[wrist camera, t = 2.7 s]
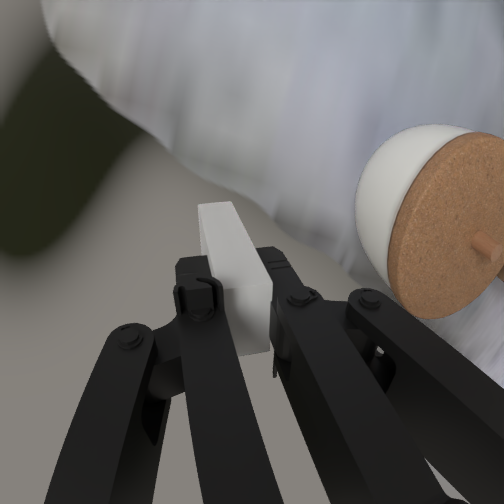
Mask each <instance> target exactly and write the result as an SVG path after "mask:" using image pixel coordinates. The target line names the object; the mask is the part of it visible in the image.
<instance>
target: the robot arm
mask: <svg viewBox="0 0 504 504" xmlns="http://www.w3.org/2000/svg"><path fill="white" fill-rule="evenodd" d="M198 214H199V227H200V240H201V251H202V256H193V257H185V258H180V259H179V261H178V263H177V264H176V266H175V270H176V285H175V287H174V290H173V295H174V300H175V306H176V312H177V315H176V317H175V318H174V319H173V320H172V321H171V322H170V323H168V324H167V325H165V326H163V327H161V328H158V329H155V330H153V331H152V330H151V329H150V328H149V327H147V326H146V325H143V324H139V323H130V324H125V325H122V326H119V327H118V328H116V329H115V330H113V331H112V332H111V334H110V335H109V336H108V338H107V340H106V342H105V344H104V346H103V349H102V351H101V353H100V355H99V357H98V360H97V362H96V364H95V366H94V369H93V371H92V373H91V376H90V378H89V381H88V383H87V385H86V387H85V390H84V392H83V395H82V397H81V400H80V402H79V405H78V407H77V410H76V412H75V415H74V417H73V420H72V422H71V425H70V428H69V430H68V433H67V436H66V438H65V441H64V444H63V447H62V449H61V452H60V455H59V458H58V461H57V464H56V467H55V470H54V473H53V476H52V479H51V482H50V486H49V489H48V492H47V495H46V499H45V502H44V504H152V502H153V495H154V489H155V483H156V478H157V472H158V466H159V461H160V455H161V450H162V444H163V439H164V434H165V429H166V423H167V419H168V414H169V409H170V404H171V397H173V396H175V395H178V394H180V393H183V392H185V395H186V402H187V409H188V416H189V424H190V430H191V436H192V442H193V449H194V455H195V461H196V466H197V472H198V478H199V483H200V488H201V493H202V498H203V503H204V504H284V502H283V499H282V497H281V494H280V491H279V488H278V485H277V482H276V479H275V476H274V473H273V470H272V467H271V464H270V461H269V458H268V455H267V451H266V449H265V445H264V442H263V439H262V436H261V433H260V430H259V427H258V423H257V420H256V417H255V413H254V410H253V407H252V404H251V400H250V397H249V394H248V391H247V387H246V384H245V380H244V377H243V373H242V370H241V367H240V363H239V360H238V356H244V355H250V354H256V353H261V352H267V351H270V340H271V343H272V345H273V348H274V361H273V378H275V377H276V376H277V371H278V374H279V376H280V379H281V381H282V384H283V386H284V389H285V392H286V394H287V397H288V399H289V402H290V404H291V407H292V409H293V412H294V415H295V417H296V419H297V422H298V425H299V427H300V429H301V432H302V435H303V437H304V440H305V442H306V445H307V447H308V450H309V452H310V454H311V457H312V459H313V462H314V464H315V467H316V469H317V471H318V474H319V477H320V479H321V482H322V484H323V486H324V488H325V491H326V493H327V496H328V498H329V501H330V503H331V504H468V503H467V502H465V501H463V500H459V499H454V498H450V497H449V496H447V495H446V494H445V492H444V491H443V489H442V487H441V486H440V484H439V482H438V481H437V479H436V478H435V475H434V474H433V472H432V470H431V469H430V467H429V465H428V463H427V462H426V460H427V461H428V462H429V463H430V464H431V465H432V466H433V467H434V468H435V469H436V470H437V471H438V472H439V473H440V474H441V475H442V476H443V477H444V478H445V479H446V480H447V481H448V482H449V483H450V484H451V485H452V486H453V487H454V488H455V489H456V490H457V491H458V492H459V493H460V494H461V495H462V496H463V497H464V498H465V499H466V500H467V501H468V502H469V503H470V504H504V389H503V388H502V387H501V386H499V385H498V384H497V383H496V382H495V381H493V380H492V379H491V378H490V377H489V376H487V375H486V374H485V373H484V372H483V371H481V370H480V369H479V368H478V367H477V366H475V365H474V364H473V363H472V362H470V361H469V360H468V359H467V358H465V357H464V356H463V355H462V354H461V353H459V352H458V351H457V350H456V349H454V348H453V347H452V346H451V345H449V344H448V343H447V342H446V341H444V340H443V339H442V338H440V337H439V336H438V335H437V334H435V333H434V332H433V331H432V330H430V329H429V328H428V327H426V326H425V325H424V324H423V323H421V322H420V321H419V320H417V319H416V318H415V317H414V316H412V315H411V314H410V313H408V312H407V311H406V310H404V309H403V308H402V307H400V306H399V305H398V304H397V303H395V302H394V301H393V300H391V299H390V298H389V297H387V296H386V295H385V294H383V293H381V292H379V291H377V290H374V289H369V288H361V289H357V290H354V291H353V292H351V293H350V295H349V297H348V302H346V301H329V300H324V299H323V298H322V296H321V295H320V294H319V293H318V292H317V291H316V290H314V289H312V288H310V287H306V286H304V285H303V283H302V282H301V280H300V279H299V277H298V276H297V274H296V272H295V271H294V269H293V268H292V267H291V265H290V263H289V262H288V261H287V258H286V257H285V255H284V254H283V252H281V251H280V250H278V249H276V248H275V247H273V246H272V247H263V248H255V247H254V245H253V243H252V241H251V239H250V237H249V235H248V233H247V231H246V230H245V228H244V226H243V224H242V222H241V220H240V218H239V216H238V214H237V212H236V210H235V208H234V206H233V204H232V202H231V201H229V202H217V203H207V204H198ZM378 346H379V347H380V348H381V349H382V350H383V351H384V354H381V353H379V352H378V351H377V347H378ZM425 459H426V460H425Z"/></svg>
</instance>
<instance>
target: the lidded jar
mask: <svg viewBox="0 0 504 504" xmlns="http://www.w3.org/2000/svg"><path fill="white" fill-rule="evenodd" d="M355 221H356V227H357V232H358V235H359V239H360V241H361V244H362V247H363V249H364V251H365V253H366V255H367V257H368V259H369V260H370V262H371V264H372V265H373V267H374V268H375V270H376V272H377V273H378V275H379V276H380V277H381V278H382V279H383V281H384V282H385V283H386V284H387V285H388V286H389V288H390V289H391V290H392V291H393V293H394V295H395V297H396V298H397V300H398V301H399V302H400V303H401V304H402V306H403V307H404V308H405V309H406V310H407V311H408V312H409V313H411V314H412V315H414V316H415V317H419V318H423V319H437V318H443V317H445V316H448V315H451V314H453V313H455V312H457V311H459V310H461V309H462V308H464V307H465V306H467V305H468V304H469V303H471V302H472V301H473V300H474V299H476V298H477V297H478V296H479V295H480V294H481V293H482V292H483V291H484V290H485V289H486V288H487V287H488V286H489V284H490V283H491V282H492V281H493V280H494V278H495V277H496V276H497V274H498V273H499V271H500V270H501V268H502V267H503V265H504V140H502V139H501V138H499V137H496V136H494V135H491V134H487V133H482V132H476V131H473V130H470V129H466V128H462V127H458V126H452V125H444V124H426V125H418V126H415V127H411V128H408V129H405V130H402V131H400V132H398V133H397V134H395V135H393V136H392V137H390V138H389V139H388V140H386V141H385V142H384V143H383V144H381V146H380V147H379V148H378V149H377V150H376V151H375V152H374V153H373V155H372V156H371V157H370V159H369V160H368V162H367V164H366V166H365V167H364V169H363V171H362V174H361V177H360V179H359V182H358V186H357V190H356V197H355Z"/></svg>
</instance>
